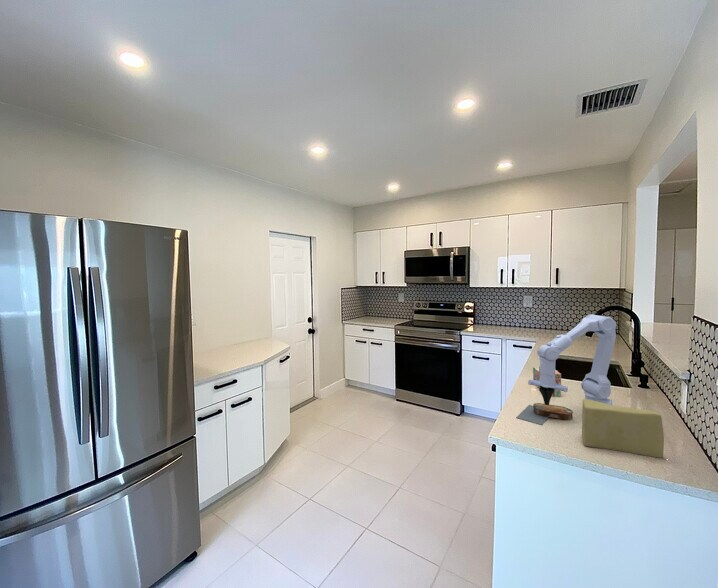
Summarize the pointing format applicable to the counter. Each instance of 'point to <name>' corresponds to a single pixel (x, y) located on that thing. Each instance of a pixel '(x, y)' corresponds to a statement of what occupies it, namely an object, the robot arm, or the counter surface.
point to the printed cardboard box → (557, 379)
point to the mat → (531, 416)
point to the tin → (552, 411)
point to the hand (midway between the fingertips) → (546, 404)
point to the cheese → (622, 428)
